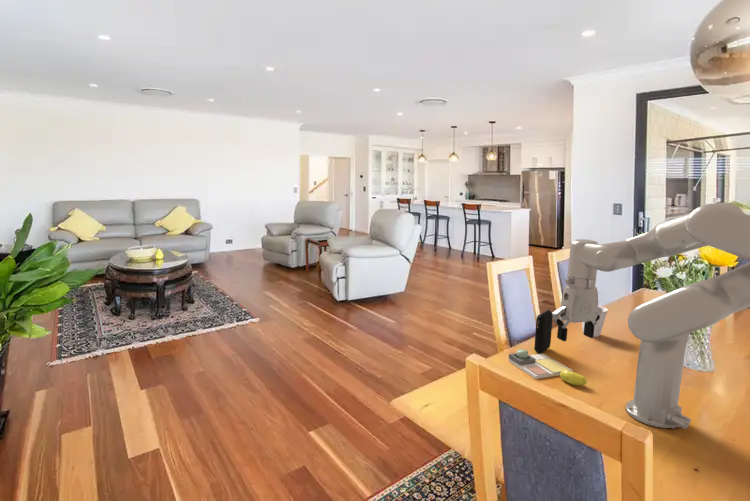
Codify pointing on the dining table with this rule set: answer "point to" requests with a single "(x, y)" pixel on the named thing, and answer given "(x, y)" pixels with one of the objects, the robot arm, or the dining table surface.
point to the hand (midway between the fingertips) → (575, 338)
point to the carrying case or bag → (543, 331)
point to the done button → (522, 354)
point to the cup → (598, 322)
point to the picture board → (538, 365)
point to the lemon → (573, 377)
